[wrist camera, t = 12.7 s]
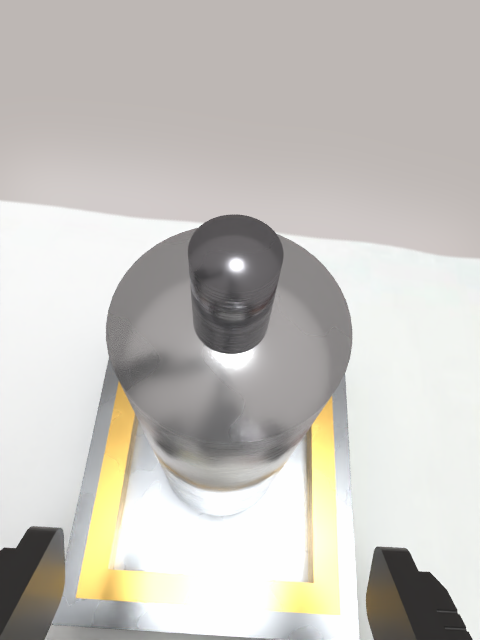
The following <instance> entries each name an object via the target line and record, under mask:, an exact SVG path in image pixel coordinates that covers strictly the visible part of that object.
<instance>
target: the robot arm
mask: <svg viewBox="0 0 480 640" xmlns="http://www.w3.org/2000/svg"><path fill="white" fill-rule="evenodd" d="M64 585H65V557H64V535H63V530H62V529H61V528H52V527H34V526H32V527H30V528H29V529H28V530H27V531H26V533H25V535H24V536H23V538H22V539H21V541H20V543H19V544H18V546H17V548H3V549H2V550H1V551H0V640H44V639H45V637H46V635H47V632H48V630H49V628H50V625H51V623H52V621H53V618H54V616H55V614H56V611H57V609H58V607H59V604H60V602H61V599H62V595H63V591H64ZM366 609H367V616H368V621H369V625H370V628H371V631H372V635H373V638H374V640H472V638H471V636H470V634H469V632H467V631H466V626H465V624H464V622H463V620H462V618H461V616H460V615H459V614H458V613H457V609H456V607H455V605H454V603H453V601H452V599H451V597H450V595H449V593H448V591H447V590H446V589H445V588H444V586H443V585H442V584H441V583H440V582H439V581H438V580H437V579H436V578H435V577H434V576H433V575H432V574H431V573H430V572H419V571H418V569H417V567H416V565H415V563H414V561H413V559H412V556H411V554H410V552H409V551H408V550H407V549H406V548H393V547H376V548H375V550H374V554H373V560H372V565H371V571H370V576H369V582H368V587H367V593H366Z"/></svg>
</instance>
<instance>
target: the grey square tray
mask: <svg viewBox="0 0 480 640" xmlns="http://www.w3.org/2000/svg"><path fill="white" fill-rule="evenodd" d="M52 625H63V626H79V627H94V628H109V629H125V630H140V631H155V632H171V633H186V634H201V635H217V636H232V637H247V638H263V639H278V640H359V622H358V603H357V585H356V566H355V548H354V530H353V511H352V493H351V474H350V456H349V437H348V419H347V401H346V382H345V374H344V376H343V378H342V380H341V382H340V384H339V386H338V387H337V389H336V390H335V392H334V393H333V395H332V396H331V398H330V399H329V401H328V402H327V404H326V405H325V406H324V408H323V409H322V411H321V412H320V414H319V415H318V417H317V418H316V420H315V421H314V423H313V424H312V425H311V427H310V428H309V430H308V431H307V433H306V434H305V436H304V437H303V439H302V440H301V442H300V443H299V445H298V446H297V447H296V449H295V450H294V452H293V453H292V455H291V456H290V458H289V459H288V461H287V462H286V464H285V465H284V466H283V468H282V469H281V471H280V472H279V474H278V475H277V477H276V478H275V480H274V481H273V483H272V484H271V485H270V487H269V488H268V490H267V491H266V493H265V494H264V495H263V496H262V497H261V499H260V500H259V501H257V502H256V503H255V504H254V505H253V506H251V507H249V508H248V509H246V510H244V511H242V512H239V513H236V514H232V515H226V516H214V515H208V514H204V513H201V512H199V511H196V510H194V509H193V508H191V507H189V506H188V505H186V504H185V503H184V502H183V501H182V500H181V499H180V498H179V497H178V496H177V495H176V493H175V492H174V490H173V489H172V487H171V485H170V483H169V481H168V479H167V477H166V475H165V473H164V471H163V469H162V467H161V465H160V463H159V461H158V459H157V457H156V455H155V453H154V451H153V449H152V447H151V445H150V443H149V441H148V439H147V437H146V435H145V433H144V431H143V429H142V427H141V424H140V422H139V420H138V418H137V416H136V414H135V412H134V410H133V408H132V406H131V404H130V402H129V400H128V398H127V396H126V394H125V392H124V390H123V388H122V386H121V384H120V382H119V380H118V378H117V376H116V374H115V372H114V370H113V367H112V364H111V361H110V357H109V361H108V365H107V370H106V375H105V379H104V384H103V389H102V393H101V398H100V403H99V407H98V412H97V417H96V421H95V426H94V431H93V435H92V440H91V445H90V449H89V454H88V459H87V463H86V468H85V473H84V477H83V482H82V486H81V491H80V496H79V500H78V505H77V510H76V514H75V519H74V524H73V528H72V533H71V538H70V542H69V547H68V552H67V556H66V561H65V585H64V591H63V595H62V599H61V602H60V604H59V607H58V609H57V611H56V614H55V616H54V618H53V621H52Z"/></svg>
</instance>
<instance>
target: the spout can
mask: <svg viewBox="0 0 480 640" xmlns="http://www.w3.org/2000/svg"><path fill="white" fill-rule="evenodd" d="M106 341H107V348H108V354H109V357H110V361H111V364H112V367H113V370H114V372H115V374H116V376H117V378H118V380H119V382H120V384H121V386H122V388H123V390H124V392H125V394H126V396H127V398H128V400H129V402H130V404H131V406H132V408H133V410H134V412H135V414H136V416H137V418H138V420H139V422H140V424H141V427H142V429H143V431H144V433H145V435H146V437H147V439H148V441H149V443H150V445H151V447H152V449H153V451H154V453H155V455H156V457H157V459H158V461H159V463H160V465H161V467H162V469H163V471H164V473H165V475H166V477H167V479H168V481H169V483H170V485H171V487H172V489H173V490H174V492H175V493H176V495H177V496H178V497H179V498H180V499H181V500H182V501H183V502H184V503H185V504H186V505H188V506H189V507H191V508H193V509H194V510H196V511H199V512H201V513H204V514H208V515H214V516H226V515H232V514H236V513H239V512H242V511H244V510H246V509H248V508H249V507H251V506H253V505H254V504H255V503H256V502H257V501H259V500H260V499H261V497H262V496H263V495H264V494H265V493H266V491H267V490H268V488H269V487H270V485H271V484H272V483H273V481H274V480H275V478H276V477H277V475H278V474H279V472H280V471H281V469H282V468H283V466H284V465H285V464H286V462H287V461H288V459H289V458H290V456H291V455H292V453H293V452H294V450H295V449H296V447H297V446H298V445H299V443H300V442H301V440H302V439H303V437H304V436H305V434H306V433H307V431H308V430H309V428H310V427H311V425H312V424H313V423H314V421H315V420H316V418H317V417H318V415H319V414H320V412H321V411H322V409H323V408H324V406H325V405H326V404H327V402H328V401H329V399H330V398H331V396H332V395H333V393H334V392H335V390H336V389H337V387H338V386H339V384H340V382H341V380H342V378H343V376H344V374H345V372H346V369H347V365H348V362H349V359H350V354H351V347H352V325H351V317H350V313H349V309H348V306H347V302H346V300H345V298H344V296H343V293H342V291H341V289H340V287H339V286H338V284H337V282H336V281H335V279H334V278H333V276H332V275H331V274H330V273H329V271H328V270H327V269H326V267H325V266H324V265H323V264H322V263H321V262H320V261H319V260H318V259H317V258H315V257H314V256H313V255H312V254H310V253H309V252H308V251H307V250H305V249H304V248H302V247H301V246H299V245H298V244H296V243H294V242H293V241H291V240H289V239H287V238H284V237H282V236H280V235H278V234H276V233H275V232H274V231H273V230H272V229H271V228H270V227H269V226H268V225H266V224H265V223H263V222H262V221H260V220H257V219H255V218H252V217H249V216H244V215H224V216H220V217H216V218H213V219H211V220H209V221H207V222H205V223H204V224H203V225H201V226H200V227H199V228H196V229H192V230H189V231H185V232H182V233H180V234H177V235H175V236H172V237H170V238H168V239H166V240H164V241H162V242H161V243H159V244H157V245H156V246H154V247H153V248H151V249H150V250H149V251H147V252H146V253H145V254H143V255H142V256H141V257H140V258H139V259H138V260H137V261H136V262H135V263H134V264H133V265H132V266H131V268H130V269H129V270H128V271H127V272H126V274H125V275H124V277H123V278H122V280H121V281H120V283H119V284H118V287H117V289H116V291H115V293H114V295H113V297H112V301H111V304H110V307H109V310H108V317H107V323H106Z"/></svg>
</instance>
